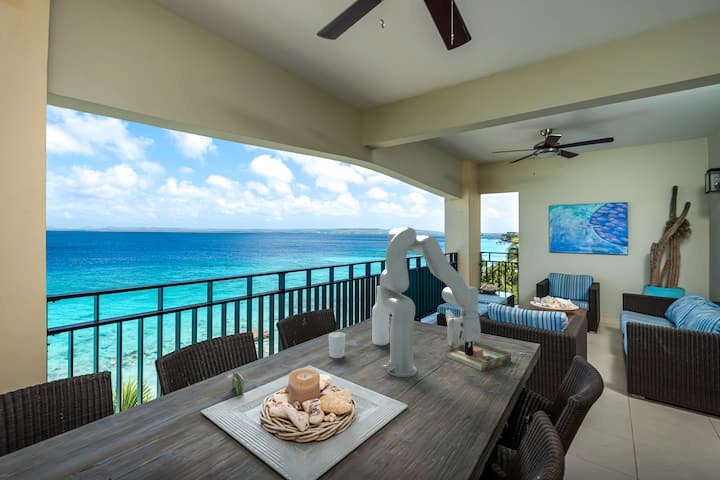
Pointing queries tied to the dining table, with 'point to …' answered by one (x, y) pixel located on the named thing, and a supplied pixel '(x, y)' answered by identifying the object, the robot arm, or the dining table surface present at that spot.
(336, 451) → the dining table surface
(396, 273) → the robot arm
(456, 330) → the shell sculpture
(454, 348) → the box
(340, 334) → the white cup
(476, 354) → the block
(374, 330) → the alcohol
